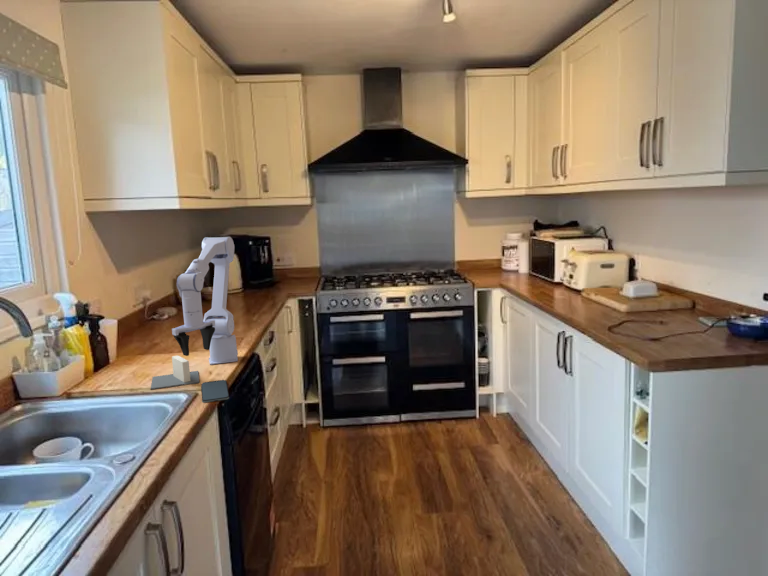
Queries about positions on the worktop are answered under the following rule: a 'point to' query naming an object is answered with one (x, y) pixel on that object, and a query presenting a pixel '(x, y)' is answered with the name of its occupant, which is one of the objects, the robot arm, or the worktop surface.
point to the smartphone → (214, 391)
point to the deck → (181, 368)
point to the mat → (172, 380)
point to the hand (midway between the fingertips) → (196, 352)
